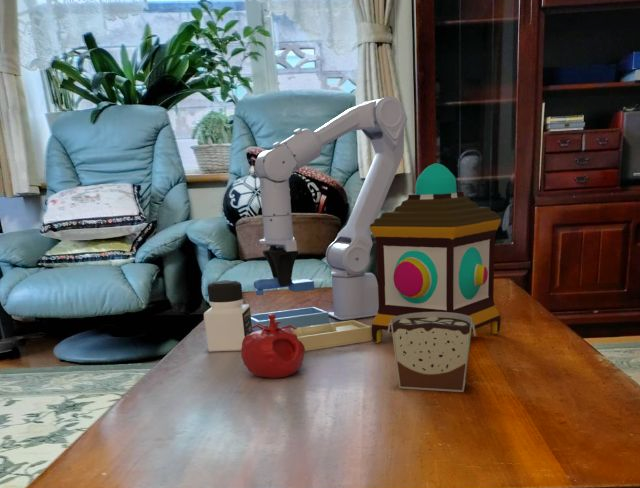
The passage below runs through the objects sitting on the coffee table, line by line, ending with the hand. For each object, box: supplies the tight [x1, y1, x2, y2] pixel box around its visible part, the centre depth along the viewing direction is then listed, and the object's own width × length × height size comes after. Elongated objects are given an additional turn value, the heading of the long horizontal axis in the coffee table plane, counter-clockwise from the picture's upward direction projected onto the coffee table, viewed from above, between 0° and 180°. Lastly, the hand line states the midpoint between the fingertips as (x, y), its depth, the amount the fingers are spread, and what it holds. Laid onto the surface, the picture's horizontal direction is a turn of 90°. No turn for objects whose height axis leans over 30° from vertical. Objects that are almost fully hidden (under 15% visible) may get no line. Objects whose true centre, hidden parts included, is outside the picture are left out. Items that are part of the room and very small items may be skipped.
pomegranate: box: [240, 314, 306, 379], centre depth 106 cm, size 10×10×9 cm
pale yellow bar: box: [294, 322, 358, 337], centre depth 125 cm, size 12×4×3 cm, turn 116°
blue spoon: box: [253, 277, 315, 296], centre depth 139 cm, size 12×4×3 cm, turn 116°
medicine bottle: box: [203, 279, 253, 353], centre depth 124 cm, size 7×7×12 cm
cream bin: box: [291, 319, 373, 352], centre depth 125 cm, size 15×8×3 cm, turn 116°
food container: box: [387, 312, 477, 393], centre depth 97 cm, size 12×6×10 cm, turn 71°
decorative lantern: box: [370, 162, 502, 344], centre depth 120 cm, size 20×20×30 cm
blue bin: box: [251, 306, 330, 333], centre depth 140 cm, size 15×8×3 cm, turn 116°
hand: (282, 285), depth 139 cm, fingers closed on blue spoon, 2 cm apart
